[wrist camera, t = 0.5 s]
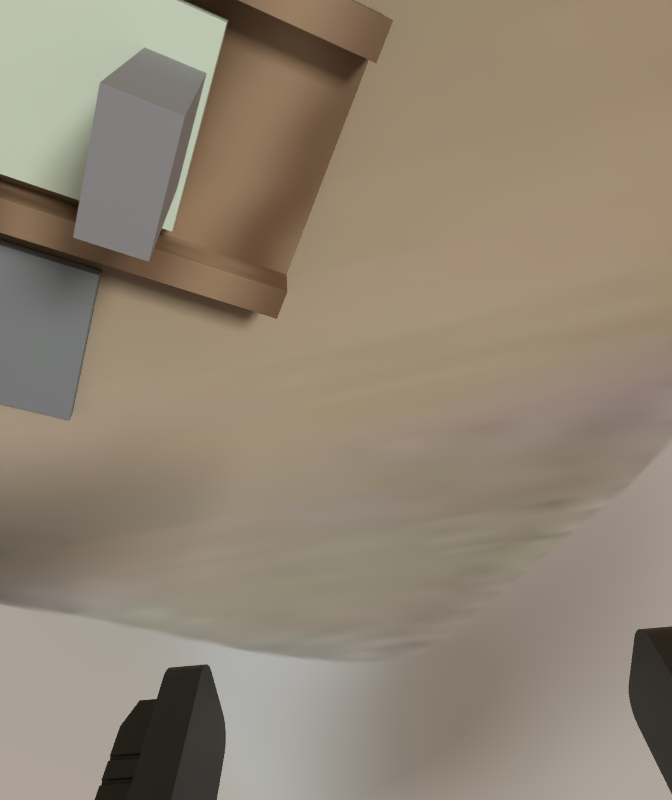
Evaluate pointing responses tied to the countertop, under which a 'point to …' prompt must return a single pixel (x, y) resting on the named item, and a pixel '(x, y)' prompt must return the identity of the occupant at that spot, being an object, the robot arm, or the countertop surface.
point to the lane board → (240, 154)
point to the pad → (43, 328)
